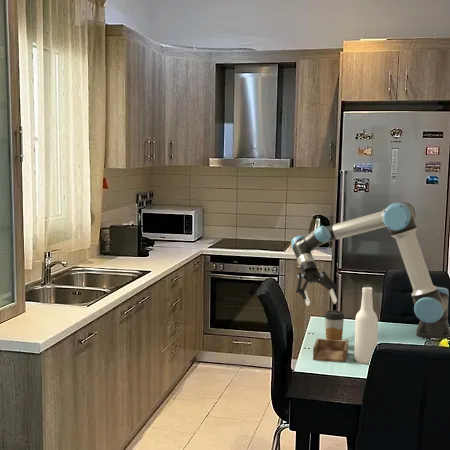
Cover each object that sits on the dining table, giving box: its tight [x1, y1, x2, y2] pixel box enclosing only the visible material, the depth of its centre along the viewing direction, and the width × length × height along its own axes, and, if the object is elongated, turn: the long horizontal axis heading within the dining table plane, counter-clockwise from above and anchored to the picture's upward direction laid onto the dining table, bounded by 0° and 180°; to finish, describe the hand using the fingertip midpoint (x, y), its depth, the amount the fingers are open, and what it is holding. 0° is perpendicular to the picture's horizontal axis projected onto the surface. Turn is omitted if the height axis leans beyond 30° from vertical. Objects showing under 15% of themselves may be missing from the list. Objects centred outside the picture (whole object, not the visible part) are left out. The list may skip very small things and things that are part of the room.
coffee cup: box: [324, 309, 345, 341], centre depth 258 cm, size 8×8×15 cm
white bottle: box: [353, 286, 379, 365], centre depth 238 cm, size 9×9×30 cm
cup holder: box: [312, 338, 349, 363], centre depth 245 cm, size 13×13×5 cm
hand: (322, 303), depth 267 cm, fingers open, 13 cm apart
